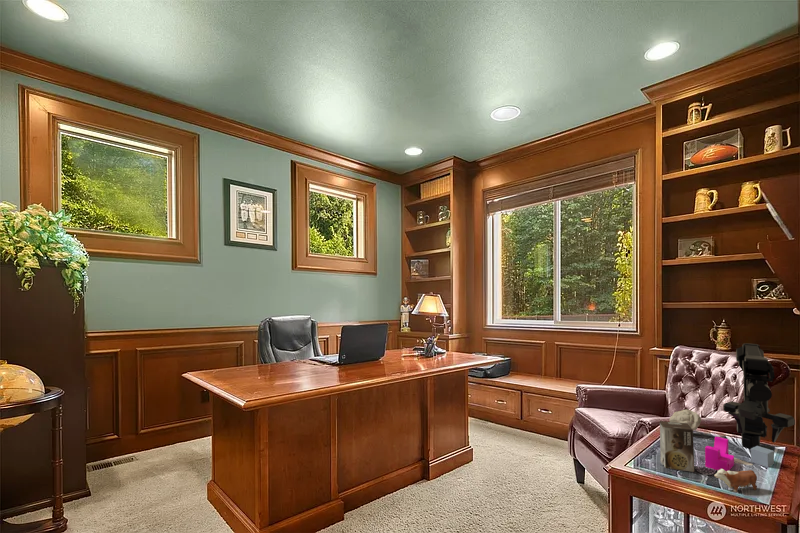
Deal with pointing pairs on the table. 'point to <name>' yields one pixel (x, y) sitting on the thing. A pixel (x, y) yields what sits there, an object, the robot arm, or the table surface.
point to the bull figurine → (737, 478)
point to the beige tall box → (676, 446)
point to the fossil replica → (686, 418)
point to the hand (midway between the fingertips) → (757, 437)
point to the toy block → (719, 455)
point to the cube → (762, 456)
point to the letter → (741, 462)
